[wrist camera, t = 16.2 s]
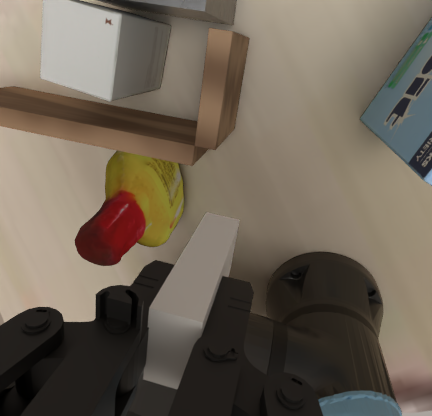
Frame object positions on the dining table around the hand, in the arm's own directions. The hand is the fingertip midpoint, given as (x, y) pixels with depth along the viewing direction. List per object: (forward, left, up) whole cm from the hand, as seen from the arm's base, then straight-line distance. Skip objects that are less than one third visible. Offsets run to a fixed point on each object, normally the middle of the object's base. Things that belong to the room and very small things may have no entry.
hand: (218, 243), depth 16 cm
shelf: (+3, +19, -29) cm, 35 cm away
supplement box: (+6, +17, -30) cm, 35 cm away
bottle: (-9, +12, -30) cm, 33 cm away
